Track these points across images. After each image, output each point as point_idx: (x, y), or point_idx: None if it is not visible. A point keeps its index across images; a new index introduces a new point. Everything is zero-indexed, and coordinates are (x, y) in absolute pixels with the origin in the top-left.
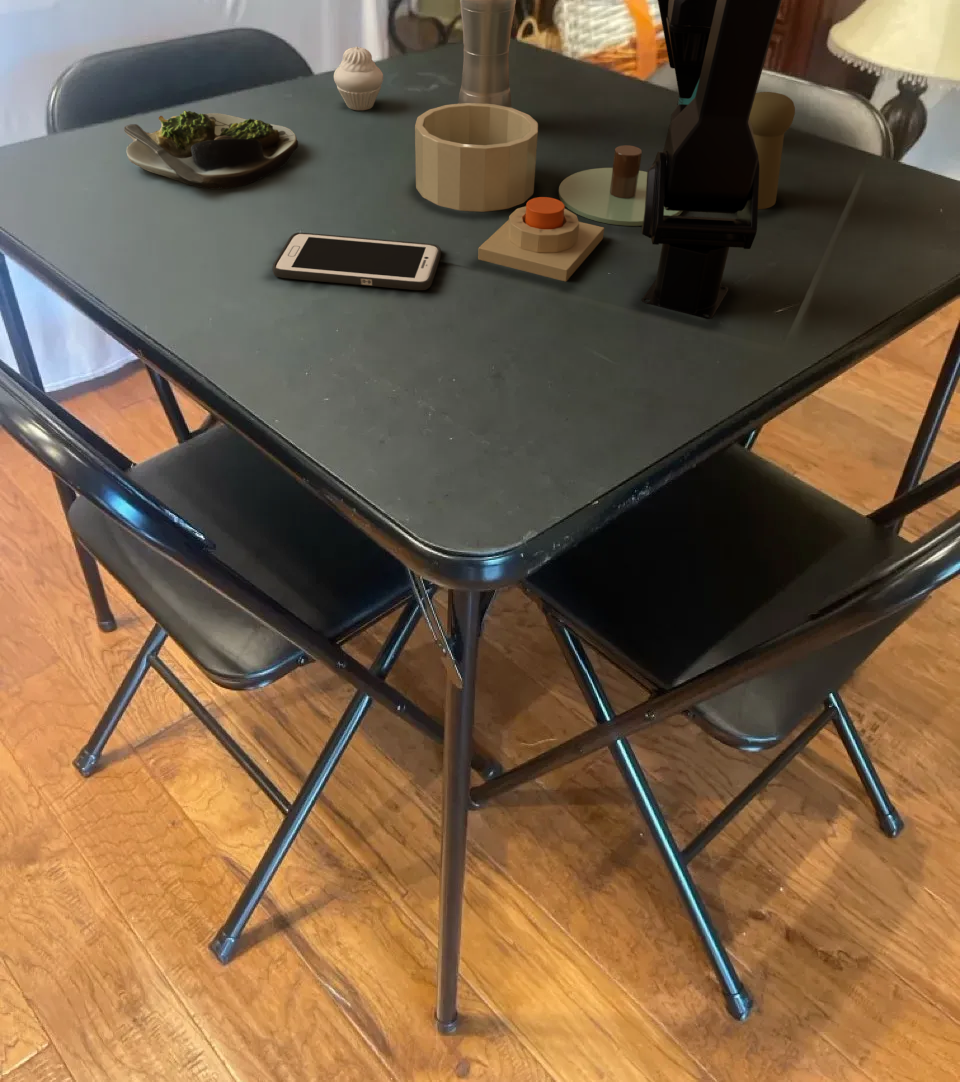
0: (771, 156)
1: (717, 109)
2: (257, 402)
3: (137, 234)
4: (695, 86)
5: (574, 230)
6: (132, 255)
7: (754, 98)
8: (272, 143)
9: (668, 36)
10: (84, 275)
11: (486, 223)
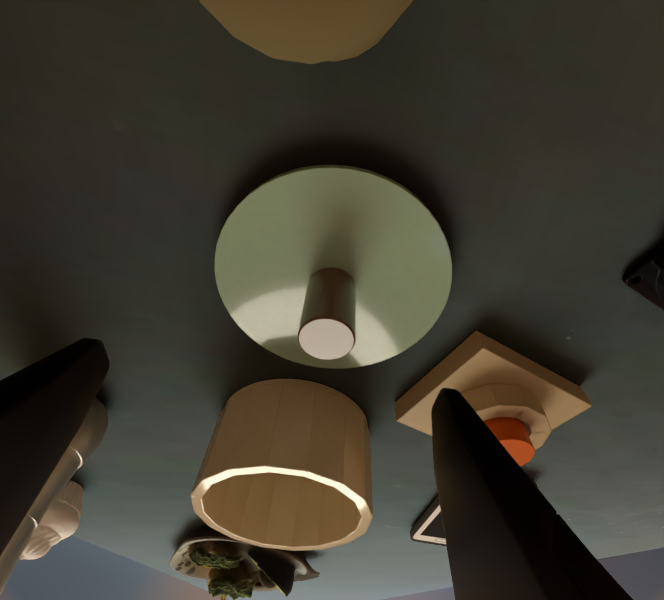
0: None
1: None
2: (641, 547)
3: (379, 575)
4: (483, 424)
5: (540, 411)
6: (410, 576)
7: (305, 12)
8: (220, 542)
9: (36, 483)
10: (434, 586)
11: (387, 427)
